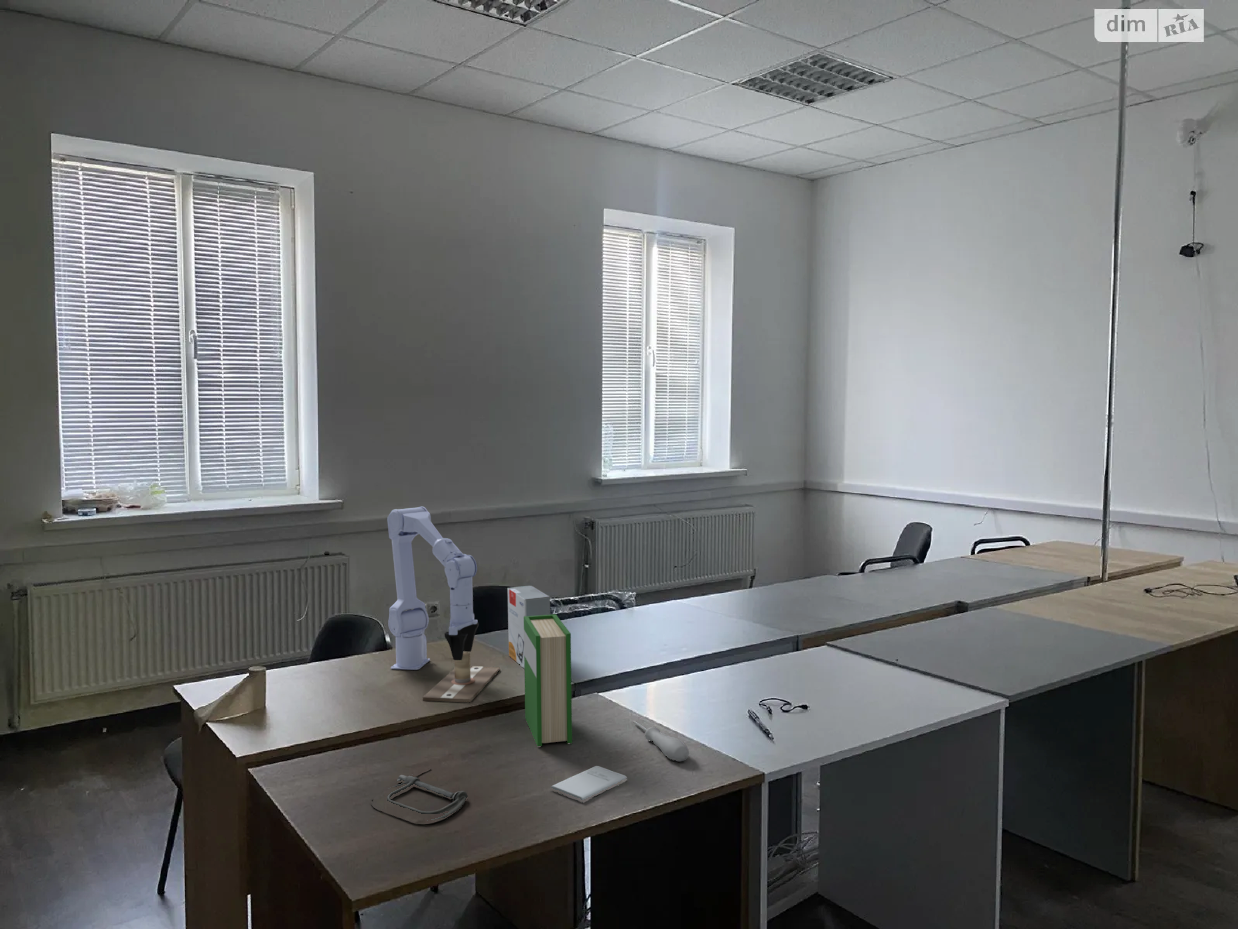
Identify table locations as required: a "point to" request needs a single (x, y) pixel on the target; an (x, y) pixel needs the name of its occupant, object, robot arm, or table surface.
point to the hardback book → (547, 679)
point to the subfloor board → (461, 685)
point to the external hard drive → (589, 782)
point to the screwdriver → (666, 743)
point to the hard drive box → (521, 605)
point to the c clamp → (457, 797)
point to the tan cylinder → (462, 669)
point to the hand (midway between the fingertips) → (462, 655)
